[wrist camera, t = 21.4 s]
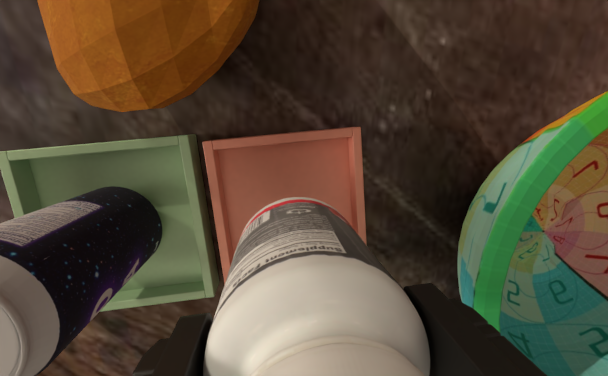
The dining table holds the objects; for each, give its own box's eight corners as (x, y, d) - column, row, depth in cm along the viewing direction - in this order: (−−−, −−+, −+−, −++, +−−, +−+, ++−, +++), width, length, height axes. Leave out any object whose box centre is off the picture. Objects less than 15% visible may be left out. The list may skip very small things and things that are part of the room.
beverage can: (72, 248, 21) (-181, 401, 9) (91, 172, 20) (-161, 235, 9) (154, 271, 22) (19, 437, 10) (176, 199, 21) (55, 290, 9)
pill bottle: (369, 280, 15) (551, 574, 5) (263, 321, 14) (243, 700, 5) (334, 176, 13) (483, 298, 4) (218, 219, 13) (75, 456, 4)
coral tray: (229, 274, 23) (225, 289, 21) (209, 140, 21) (202, 141, 19) (360, 258, 24) (368, 270, 22) (352, 126, 22) (361, 126, 20)
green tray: (65, 301, 22) (44, 319, 20) (23, 149, 20) (-5, 152, 18) (219, 282, 23) (214, 297, 21) (196, 133, 21) (187, 134, 19)
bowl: (340, 190, 23) (390, 239, 13) (597, 18, 22) (853, -67, 12) (469, 389, 28) (576, 533, 18) (683, 253, 27) (915, 325, 17)
